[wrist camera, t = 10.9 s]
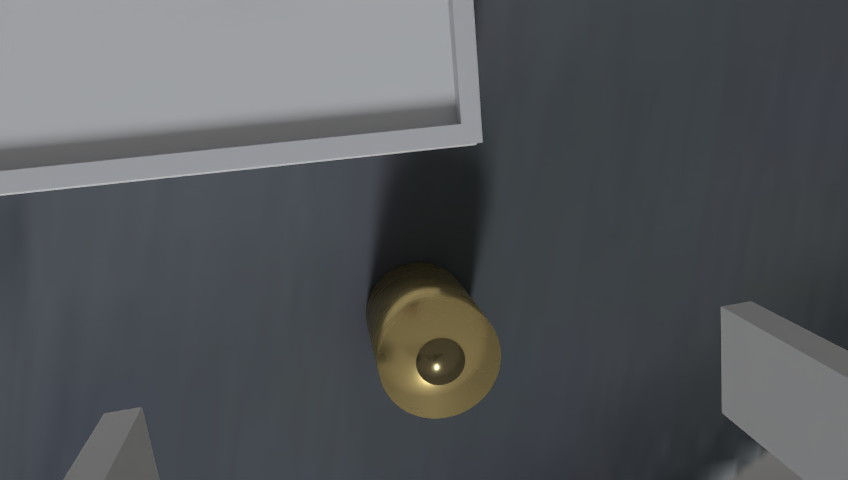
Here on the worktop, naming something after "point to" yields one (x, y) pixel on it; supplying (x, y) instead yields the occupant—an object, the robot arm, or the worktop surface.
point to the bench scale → (227, 85)
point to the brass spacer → (431, 341)
